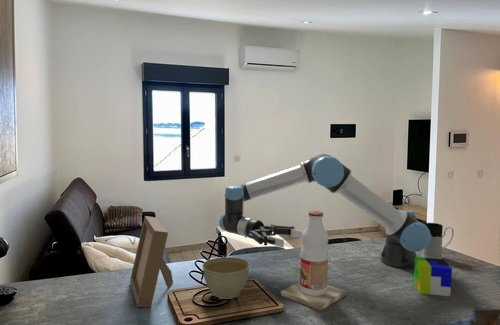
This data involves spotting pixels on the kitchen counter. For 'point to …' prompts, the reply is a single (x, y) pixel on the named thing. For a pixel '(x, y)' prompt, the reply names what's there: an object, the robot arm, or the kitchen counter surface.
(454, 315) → the kitchen counter surface
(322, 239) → the fruit juice
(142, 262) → the photo frame
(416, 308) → the kitchen counter surface
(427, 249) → the grey pitcher
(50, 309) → the kitchen counter surface
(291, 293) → the birch board
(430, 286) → the puzzle toy
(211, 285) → the planter bowl
